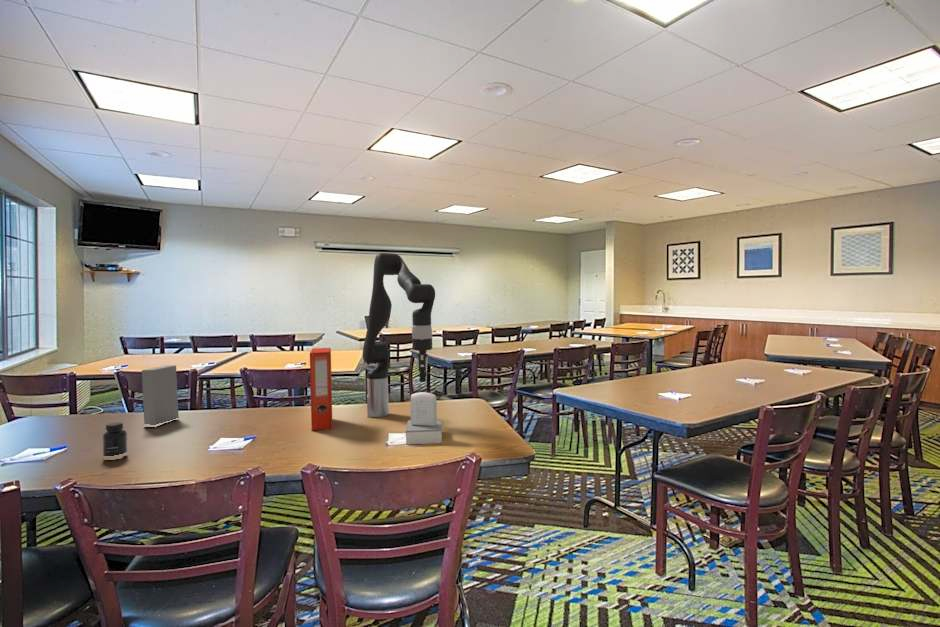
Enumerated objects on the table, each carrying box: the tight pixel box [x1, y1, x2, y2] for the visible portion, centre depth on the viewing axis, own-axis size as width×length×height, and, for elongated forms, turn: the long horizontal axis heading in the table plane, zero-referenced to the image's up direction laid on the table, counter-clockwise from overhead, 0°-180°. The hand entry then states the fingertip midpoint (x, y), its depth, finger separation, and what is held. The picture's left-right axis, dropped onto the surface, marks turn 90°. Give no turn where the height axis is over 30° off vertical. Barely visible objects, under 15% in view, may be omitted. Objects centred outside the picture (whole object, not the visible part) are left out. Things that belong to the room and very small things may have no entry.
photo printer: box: [410, 391, 438, 426], centre depth 184 cm, size 10×4×12 cm, turn 76°
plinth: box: [405, 418, 443, 445], centre depth 184 cm, size 13×15×5 cm
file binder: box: [309, 347, 333, 431], centre depth 205 cm, size 8×17×32 cm, turn 15°
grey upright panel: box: [141, 364, 180, 425], centre depth 213 cm, size 14×6×25 cm, turn 172°
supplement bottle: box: [102, 422, 128, 457], centre depth 168 cm, size 7×7×12 cm
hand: (423, 379), depth 183 cm, fingers open, 8 cm apart
